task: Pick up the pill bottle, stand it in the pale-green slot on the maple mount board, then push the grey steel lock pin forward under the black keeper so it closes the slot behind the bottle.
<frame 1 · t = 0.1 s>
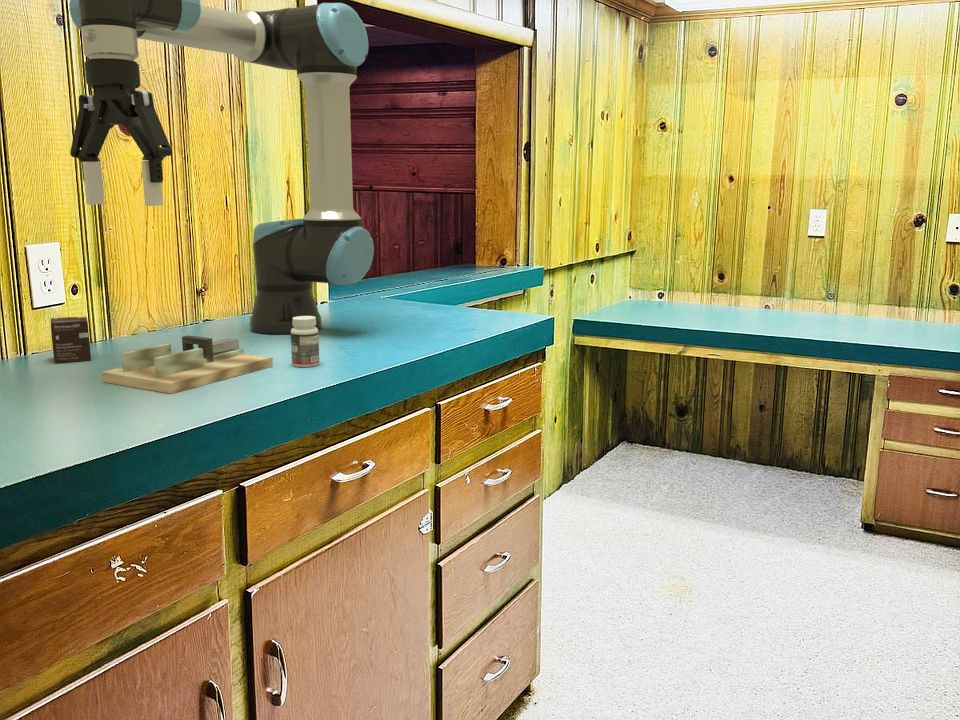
hand: (124, 205, 131), 28 cm above the worktop, fingers open, 13 cm apart
pill bottle: (305, 365, 150), on the worktop
lock pin: (219, 348, 149), point 3 cm above the worktop, slide at 0.0 cm
mount: (190, 373, 143), on the worktop
box: (72, 360, 155), on the worktop
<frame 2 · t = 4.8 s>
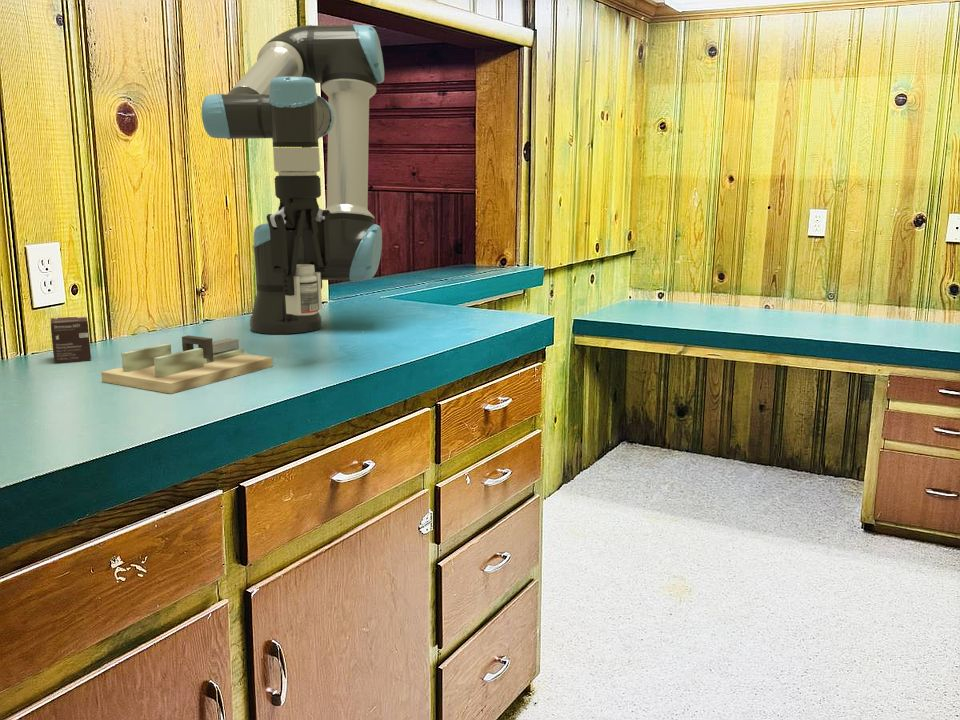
hand: (304, 311, 148), 9 cm above the worktop, fingers closed on pill bottle, 5 cm apart
pill bottle: (304, 314, 149), point 9 cm above the worktop, touching gripper
everything else where it was.
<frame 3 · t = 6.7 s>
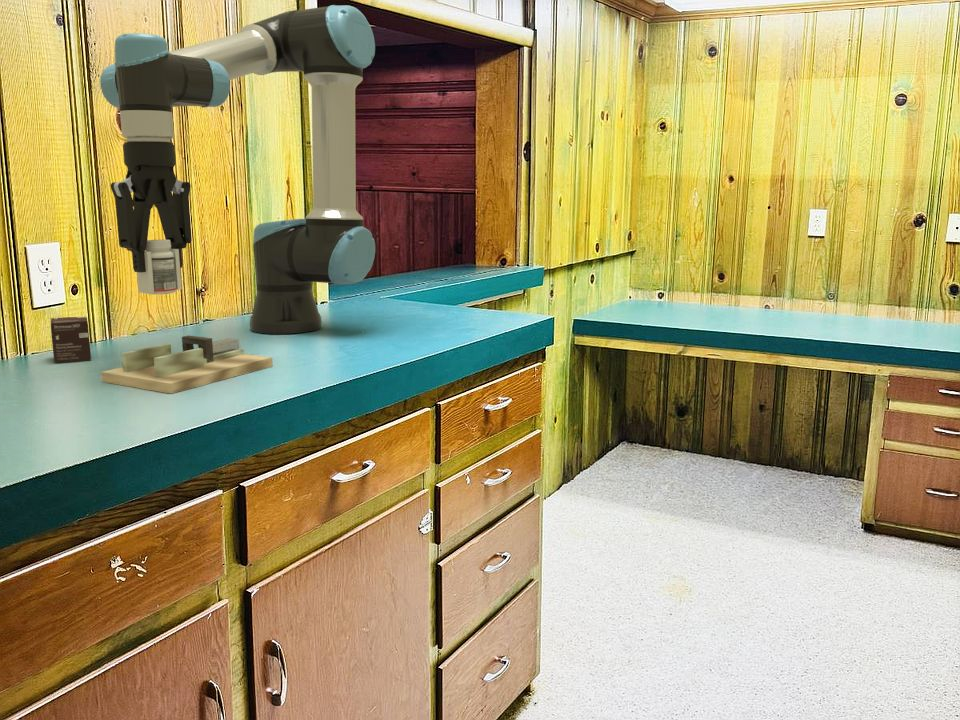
hand: (160, 290, 137), 14 cm above the worktop, fingers closed on pill bottle, 5 cm apart
pill bottle: (161, 294, 137), point 14 cm above the worktop, touching gripper
everything else where it was.
when the fingers open (3 cm above the worktop, at t = 9.0 s): pill bottle stays where it is, resting on mount.
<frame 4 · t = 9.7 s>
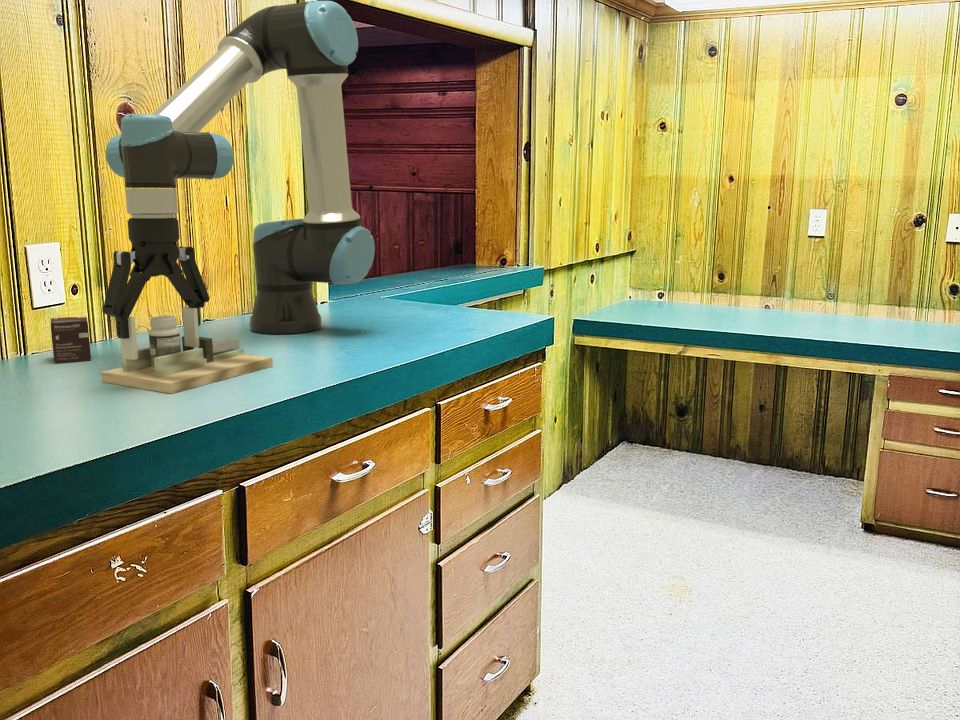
hand: (162, 352, 139), 4 cm above the worktop, fingers open, 12 cm apart
pill bottle: (167, 369, 140), point 1 cm above the worktop, touching mount
everything else where it was.
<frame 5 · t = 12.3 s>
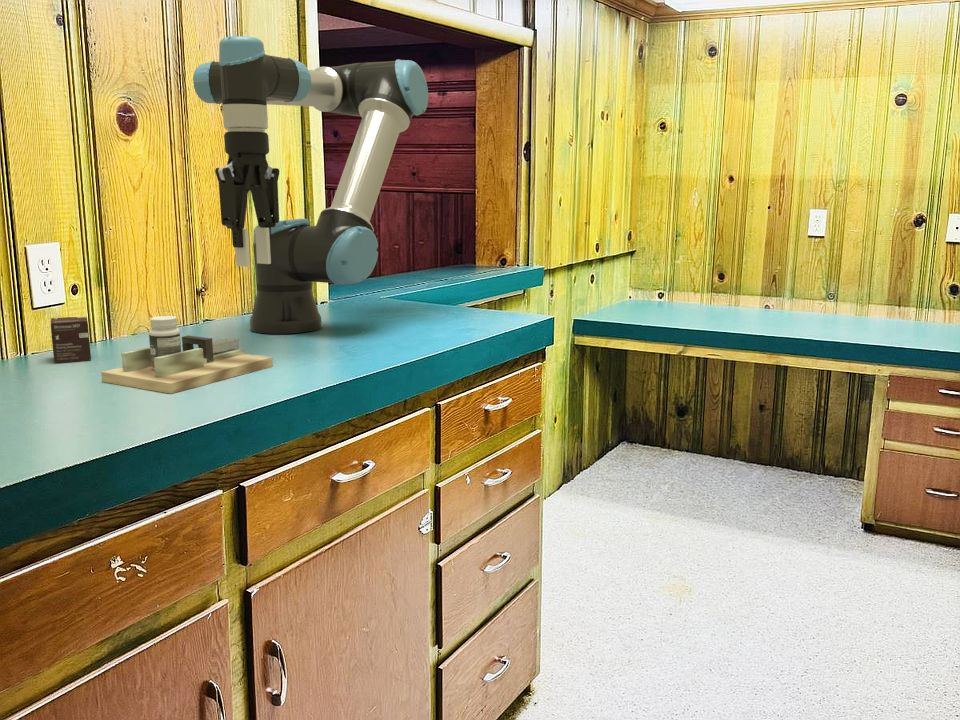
hand: (253, 264, 154), 17 cm above the worktop, fingers open, 4 cm apart
nothing on the worktop moved.
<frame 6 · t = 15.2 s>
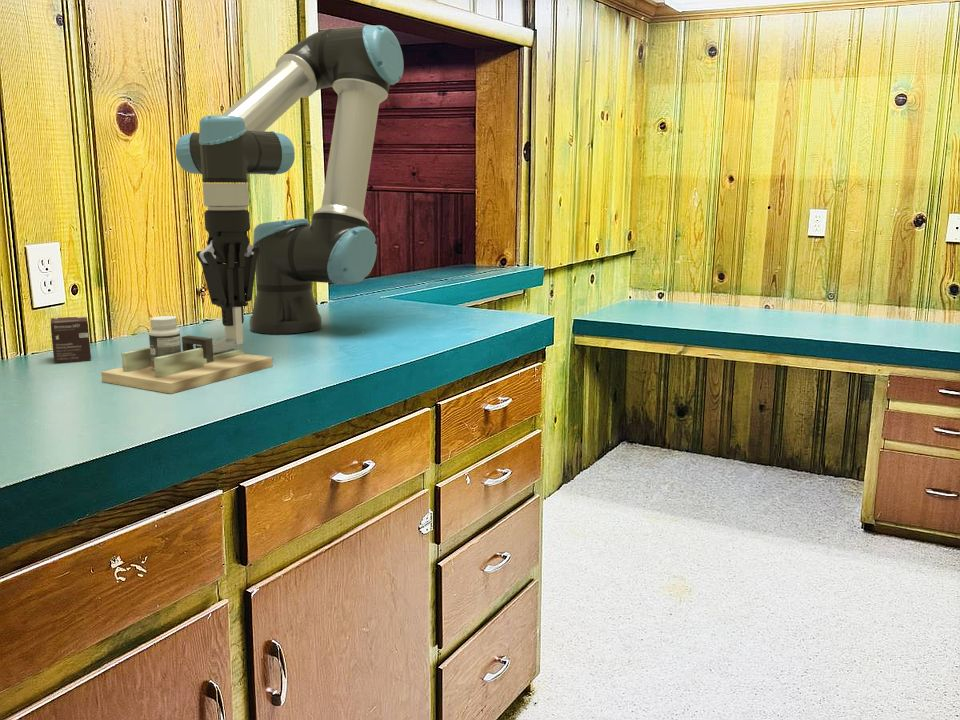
hand: (234, 343, 152), 3 cm above the worktop, fingers closed
lock pin: (216, 349, 149), point 3 cm above the worktop, slide at 0.6 cm, touching gripper
everything else where it was.
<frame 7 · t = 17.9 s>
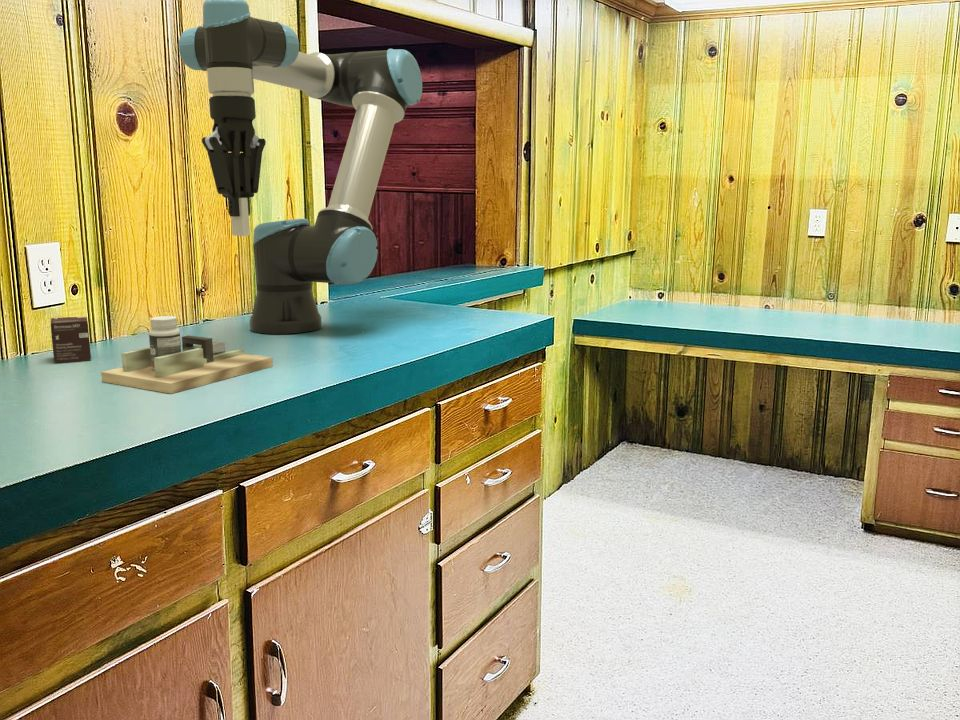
hand: (241, 235, 151), 22 cm above the worktop, fingers closed
lock pin: (204, 351, 146), point 3 cm above the worktop, slide at 3.2 cm
everything else where it was.
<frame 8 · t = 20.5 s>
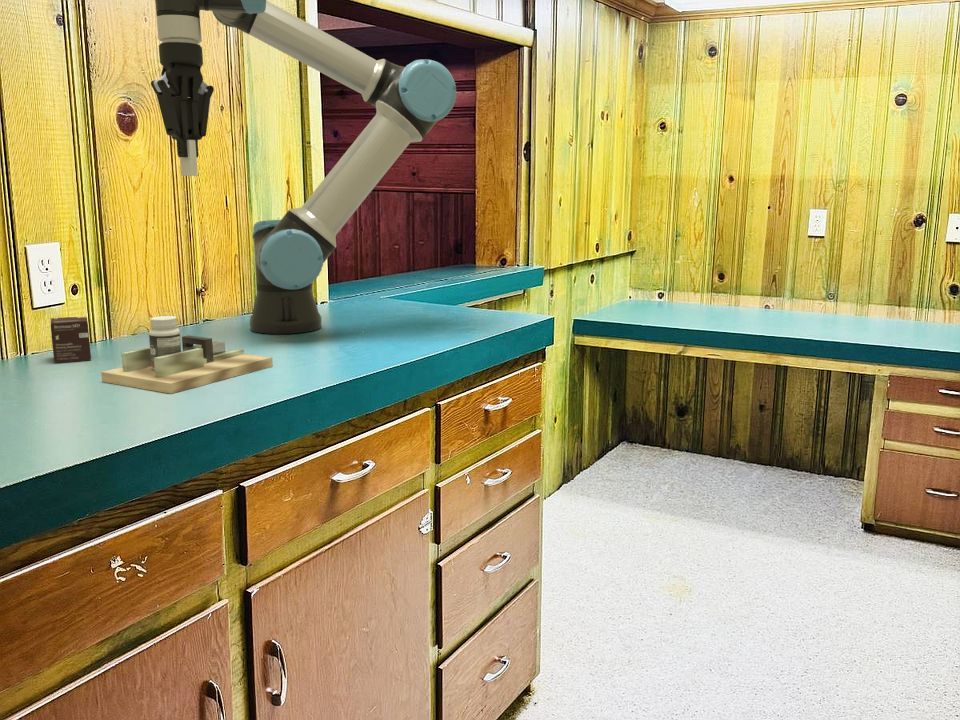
hand: (189, 175, 161), 32 cm above the worktop, fingers closed
nothing on the worktop moved.
at the end: pill bottle inside the target area (0.4 cm from its centre), point 1.4 cm above the worktop; pill bottle tilted 0°; lock pin slide at 3.2 cm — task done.
